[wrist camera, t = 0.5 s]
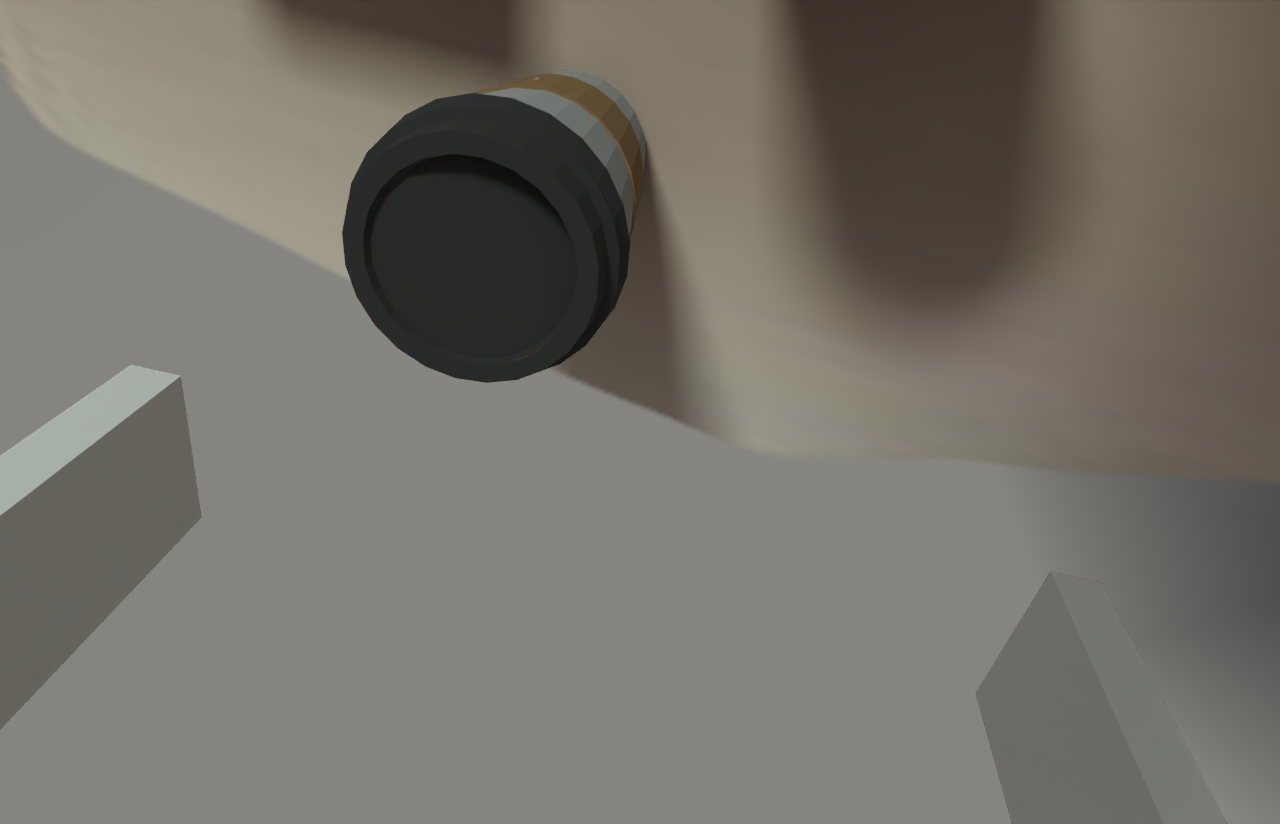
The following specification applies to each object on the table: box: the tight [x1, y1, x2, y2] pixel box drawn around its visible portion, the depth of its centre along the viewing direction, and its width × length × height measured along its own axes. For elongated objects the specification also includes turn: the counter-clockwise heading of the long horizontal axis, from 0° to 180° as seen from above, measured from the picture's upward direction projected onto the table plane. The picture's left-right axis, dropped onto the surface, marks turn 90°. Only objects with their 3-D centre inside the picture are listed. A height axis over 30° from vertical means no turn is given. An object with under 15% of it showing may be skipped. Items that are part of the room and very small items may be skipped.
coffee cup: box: [342, 71, 646, 383], centre depth 29 cm, size 8×8×15 cm
